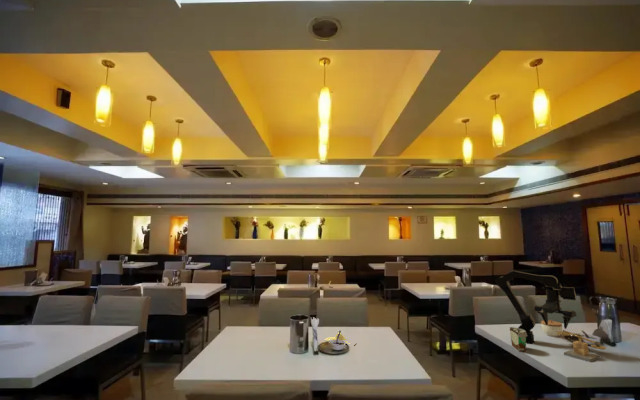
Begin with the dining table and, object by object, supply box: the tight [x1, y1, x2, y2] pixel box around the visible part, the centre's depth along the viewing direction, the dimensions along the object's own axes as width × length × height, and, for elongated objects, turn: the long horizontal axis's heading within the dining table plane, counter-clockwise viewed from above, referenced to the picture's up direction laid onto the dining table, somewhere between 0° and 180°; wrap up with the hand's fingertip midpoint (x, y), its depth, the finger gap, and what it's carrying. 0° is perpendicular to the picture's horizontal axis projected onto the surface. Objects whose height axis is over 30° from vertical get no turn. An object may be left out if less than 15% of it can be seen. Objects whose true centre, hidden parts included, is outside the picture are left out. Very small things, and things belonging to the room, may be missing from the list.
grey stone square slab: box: [563, 348, 601, 363], centre depth 158 cm, size 11×11×1 cm
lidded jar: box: [540, 319, 563, 338], centre depth 194 cm, size 11×11×9 cm
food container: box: [509, 326, 527, 353], centre depth 170 cm, size 12×6×10 cm, turn 168°
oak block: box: [572, 340, 590, 356], centre depth 159 cm, size 4×4×6 cm
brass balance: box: [557, 329, 607, 351], centre depth 170 cm, size 22×6×8 cm, turn 28°
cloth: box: [324, 331, 350, 344], centre depth 183 cm, size 22×19×6 cm
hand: (555, 326), depth 173 cm, fingers open, 9 cm apart
